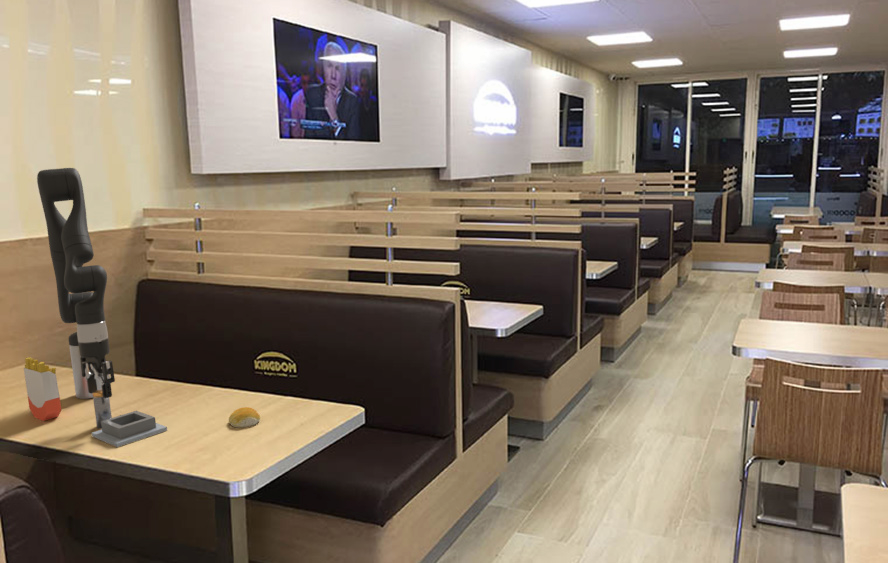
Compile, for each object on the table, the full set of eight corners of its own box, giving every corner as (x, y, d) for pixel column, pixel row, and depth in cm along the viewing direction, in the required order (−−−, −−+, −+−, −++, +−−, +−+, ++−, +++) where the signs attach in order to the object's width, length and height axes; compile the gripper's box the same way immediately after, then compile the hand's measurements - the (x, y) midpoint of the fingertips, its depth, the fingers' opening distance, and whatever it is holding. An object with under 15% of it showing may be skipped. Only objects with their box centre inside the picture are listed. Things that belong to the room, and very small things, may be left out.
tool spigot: (94, 426, 202) (89, 392, 201) (108, 422, 205) (104, 388, 204) (101, 429, 200) (96, 394, 198) (115, 425, 203) (110, 390, 201)
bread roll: (255, 415, 207) (254, 401, 206) (262, 424, 199) (261, 410, 198) (226, 420, 203) (225, 407, 202) (232, 430, 195) (230, 416, 194)
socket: (91, 436, 195) (90, 422, 194) (140, 420, 205) (139, 407, 205) (117, 447, 186) (115, 432, 185) (167, 430, 197) (165, 416, 196)
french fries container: (46, 411, 217) (38, 353, 214) (63, 417, 211) (56, 358, 208) (30, 416, 214) (21, 357, 211) (47, 422, 207) (39, 362, 204)
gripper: (67, 338, 200) (75, 394, 202) (91, 344, 191) (98, 402, 193) (94, 332, 206) (101, 387, 208) (119, 338, 197) (126, 395, 199)
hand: (100, 395), depth 201 cm, fingers open, 8 cm apart
